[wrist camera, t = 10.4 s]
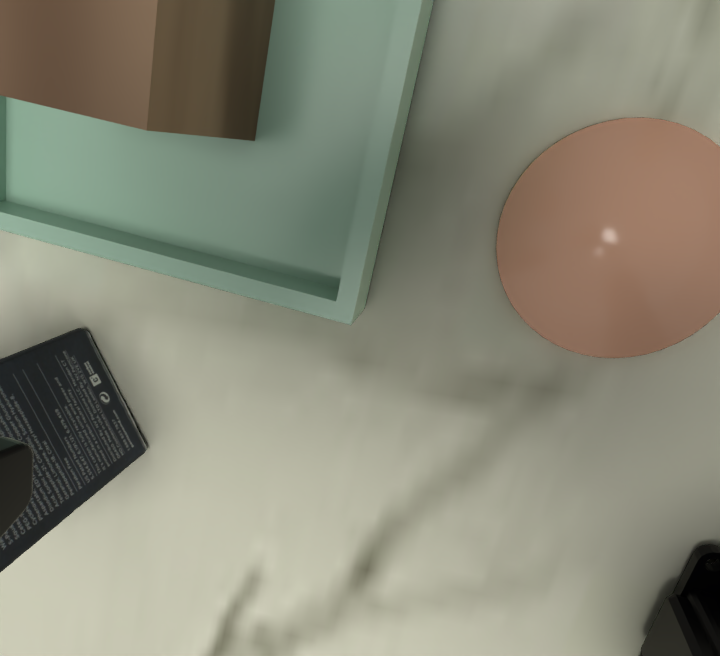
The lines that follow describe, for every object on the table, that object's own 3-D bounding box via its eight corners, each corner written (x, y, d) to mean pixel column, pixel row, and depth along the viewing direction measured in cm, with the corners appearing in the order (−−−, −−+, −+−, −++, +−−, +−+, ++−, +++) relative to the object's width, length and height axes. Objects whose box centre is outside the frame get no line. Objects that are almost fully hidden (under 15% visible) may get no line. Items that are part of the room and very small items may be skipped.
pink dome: (784, 144, 15) (799, 143, 15) (691, 373, 18) (700, 382, 17) (530, 100, 16) (532, 97, 16) (472, 321, 19) (472, 328, 18)
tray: (478, -199, 14) (478, -257, 12) (364, 307, 19) (351, 325, 17) (5, -264, 16) (-60, -324, 14) (5, 212, 21) (-46, 217, 19)
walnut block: (280, -41, 16) (170, -153, 10) (254, 141, 17) (146, 130, 12) (123, -71, 16) (-64, -192, 11) (111, 107, 18) (-56, 81, 12)
